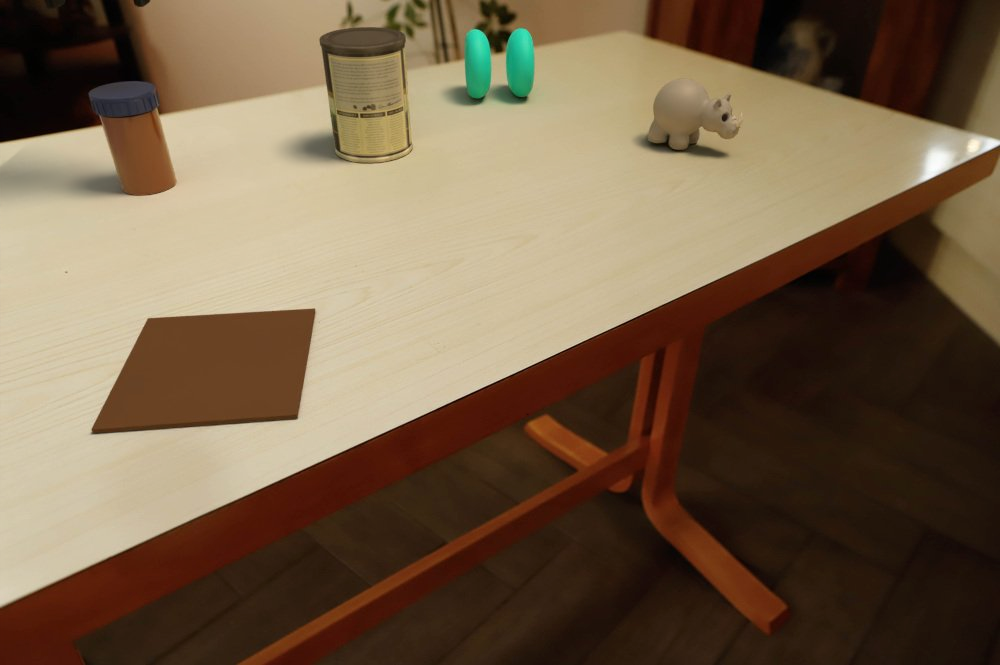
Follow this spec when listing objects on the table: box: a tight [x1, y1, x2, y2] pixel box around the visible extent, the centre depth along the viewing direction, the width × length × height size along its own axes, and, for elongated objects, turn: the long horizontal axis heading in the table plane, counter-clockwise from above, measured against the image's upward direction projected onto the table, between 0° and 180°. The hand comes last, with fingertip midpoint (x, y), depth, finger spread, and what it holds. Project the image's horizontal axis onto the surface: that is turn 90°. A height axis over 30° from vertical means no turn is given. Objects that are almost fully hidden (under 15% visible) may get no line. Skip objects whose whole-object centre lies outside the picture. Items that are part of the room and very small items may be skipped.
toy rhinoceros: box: [647, 77, 744, 151], centre depth 94 cm, size 7×12×8 cm, turn 51°
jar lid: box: [88, 80, 161, 117], centre depth 79 cm, size 7×7×2 cm
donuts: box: [464, 27, 535, 99], centre depth 111 cm, size 10×10×10 cm
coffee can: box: [318, 26, 414, 164], centre depth 91 cm, size 10×10×14 cm
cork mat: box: [90, 308, 317, 434], centre depth 56 cm, size 14×14×1 cm
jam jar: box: [98, 107, 178, 196], centre depth 82 cm, size 6×6×11 cm
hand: (100, 4), depth 74 cm, fingers open, 8 cm apart
